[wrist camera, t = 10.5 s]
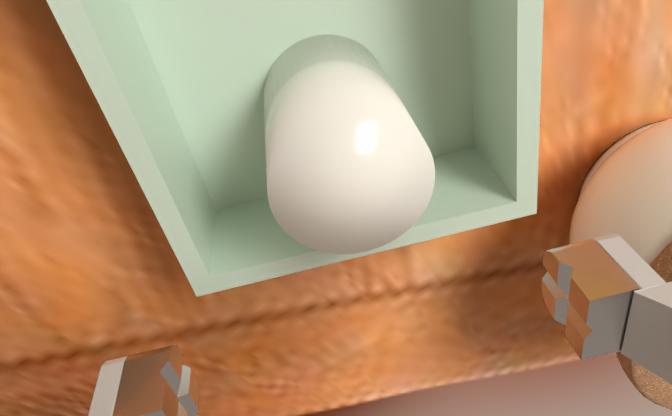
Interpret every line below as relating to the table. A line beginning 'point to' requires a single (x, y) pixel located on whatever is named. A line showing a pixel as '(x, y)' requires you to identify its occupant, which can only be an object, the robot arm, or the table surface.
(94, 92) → the tote
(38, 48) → the table surface
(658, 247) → the lidded bowl
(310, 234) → the white rounded cylinder
